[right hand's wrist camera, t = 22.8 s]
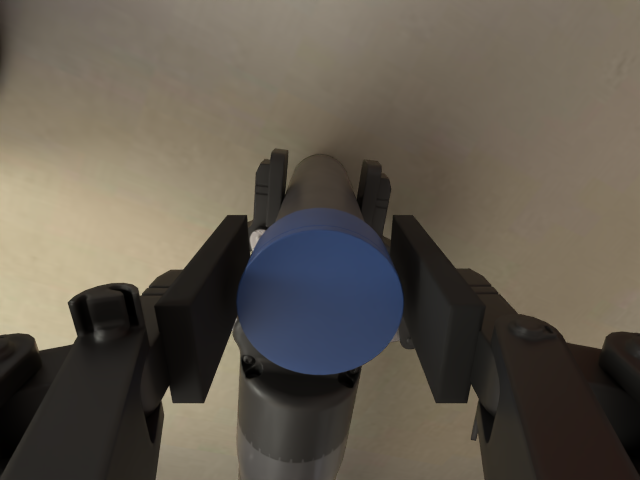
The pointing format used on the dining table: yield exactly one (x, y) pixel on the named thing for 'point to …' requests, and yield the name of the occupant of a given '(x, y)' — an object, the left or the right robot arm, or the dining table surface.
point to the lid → (320, 293)
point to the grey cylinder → (319, 188)
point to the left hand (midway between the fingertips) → (325, 158)
